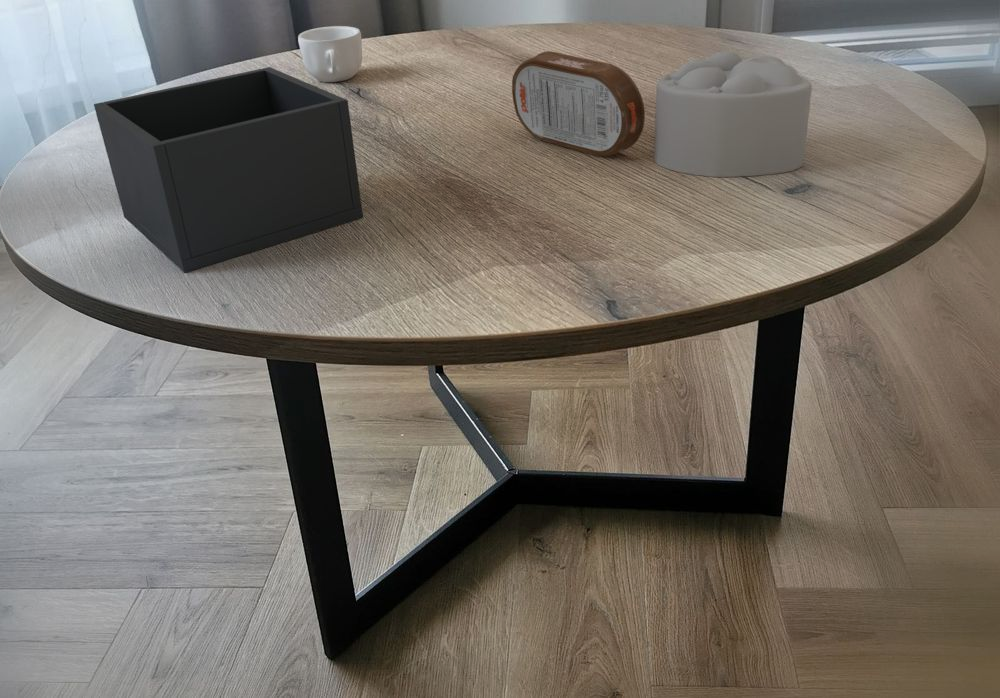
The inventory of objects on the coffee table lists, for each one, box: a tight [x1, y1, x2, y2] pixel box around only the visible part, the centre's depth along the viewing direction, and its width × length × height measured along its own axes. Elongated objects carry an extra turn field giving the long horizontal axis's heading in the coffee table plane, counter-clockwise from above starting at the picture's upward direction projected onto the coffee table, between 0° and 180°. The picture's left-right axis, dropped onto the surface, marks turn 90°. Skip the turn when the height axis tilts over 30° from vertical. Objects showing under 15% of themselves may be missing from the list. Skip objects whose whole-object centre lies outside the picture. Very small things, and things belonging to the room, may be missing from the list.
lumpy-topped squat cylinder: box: [653, 50, 813, 178], centre depth 86 cm, size 10×13×9 cm
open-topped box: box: [93, 66, 364, 274], centre depth 79 cm, size 16×15×10 cm
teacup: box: [297, 25, 363, 83], centre depth 118 cm, size 10×8×5 cm
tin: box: [511, 50, 646, 157], centre depth 91 cm, size 15×3×8 cm, turn 44°
